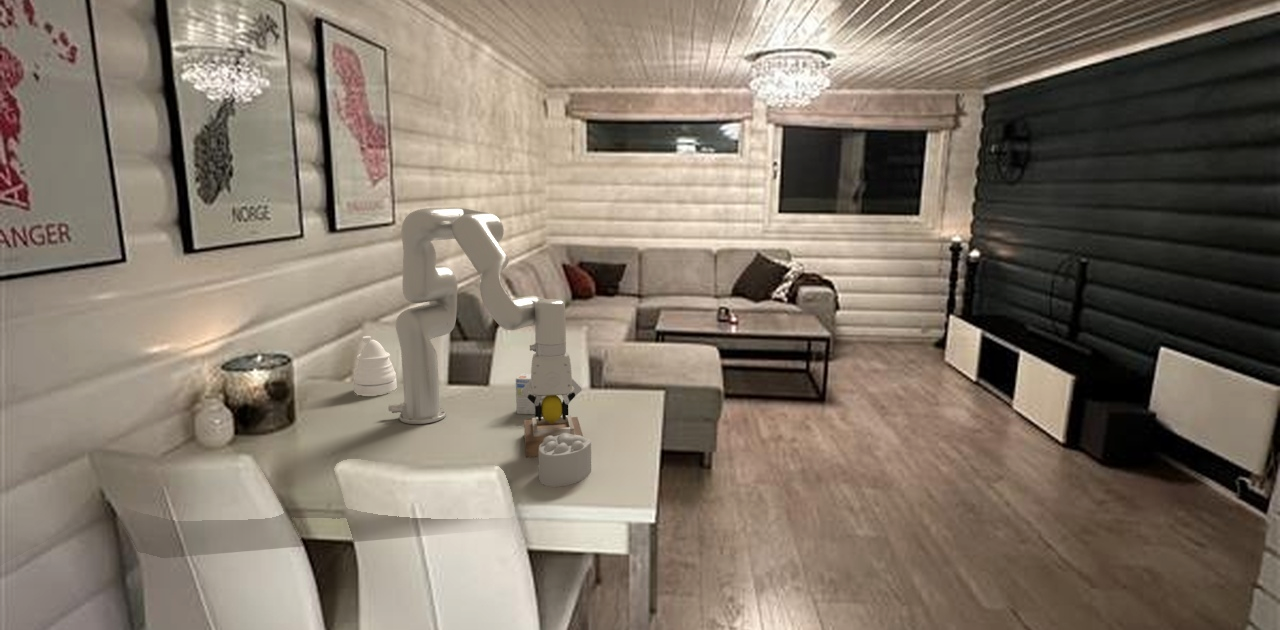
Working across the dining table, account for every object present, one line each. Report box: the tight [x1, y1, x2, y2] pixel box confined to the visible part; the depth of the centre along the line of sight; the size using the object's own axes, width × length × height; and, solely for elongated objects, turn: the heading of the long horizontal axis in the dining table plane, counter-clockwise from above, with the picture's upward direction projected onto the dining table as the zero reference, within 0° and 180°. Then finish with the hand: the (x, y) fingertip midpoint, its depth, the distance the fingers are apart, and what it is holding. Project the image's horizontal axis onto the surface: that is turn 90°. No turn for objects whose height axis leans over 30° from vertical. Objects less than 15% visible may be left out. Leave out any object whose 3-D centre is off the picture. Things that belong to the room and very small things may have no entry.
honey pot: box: [353, 335, 398, 394], centre depth 220 cm, size 13×13×18 cm
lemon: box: [541, 395, 563, 424], centre depth 174 cm, size 6×6×8 cm
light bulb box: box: [515, 372, 558, 416], centre depth 201 cm, size 11×7×11 cm, turn 84°
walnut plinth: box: [523, 415, 584, 458], centre depth 176 cm, size 14×16×6 cm
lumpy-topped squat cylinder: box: [538, 433, 592, 488], centre depth 156 cm, size 10×13×9 cm
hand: (551, 418), depth 175 cm, fingers closed on lemon, 5 cm apart
